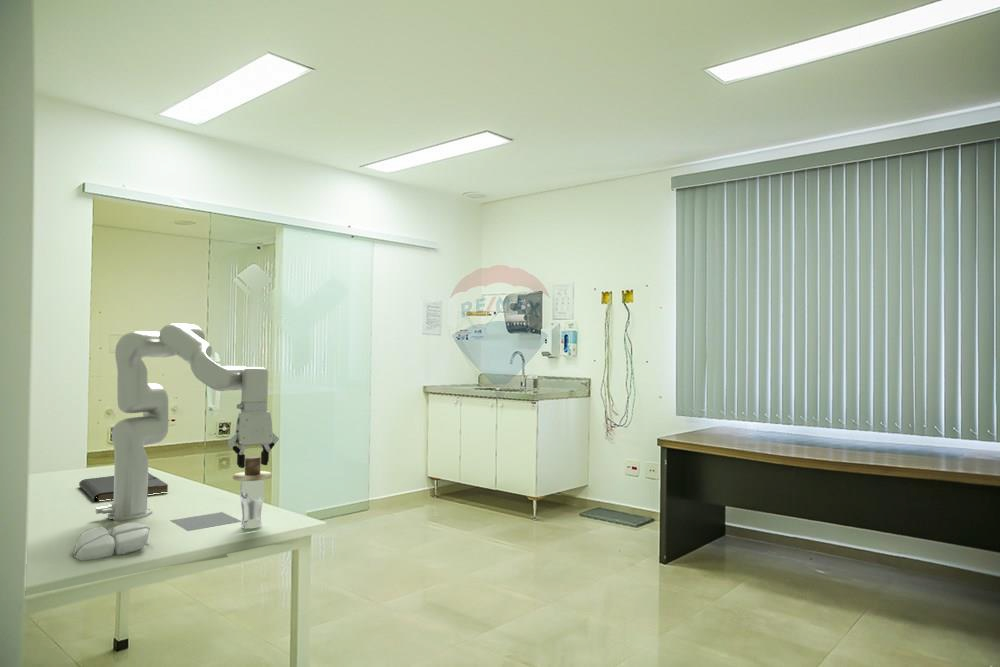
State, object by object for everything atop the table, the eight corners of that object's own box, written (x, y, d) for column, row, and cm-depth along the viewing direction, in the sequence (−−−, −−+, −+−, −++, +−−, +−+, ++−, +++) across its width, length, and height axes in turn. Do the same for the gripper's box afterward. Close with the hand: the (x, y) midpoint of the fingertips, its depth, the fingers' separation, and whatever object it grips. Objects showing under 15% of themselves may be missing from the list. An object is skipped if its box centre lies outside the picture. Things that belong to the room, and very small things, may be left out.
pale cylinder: (243, 524, 197) (244, 475, 198) (266, 524, 198) (267, 475, 199) (235, 530, 191) (237, 479, 191) (259, 530, 191) (261, 479, 192)
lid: (242, 482, 187) (242, 461, 187) (227, 477, 195) (227, 457, 195) (277, 477, 195) (278, 458, 195) (261, 473, 203) (262, 454, 203)
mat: (188, 532, 188) (188, 530, 188) (169, 521, 199) (169, 520, 199) (241, 522, 199) (241, 521, 199) (221, 513, 211) (221, 512, 211)
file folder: (169, 483, 240) (94, 493, 224) (169, 494, 240) (93, 505, 224) (148, 471, 265) (79, 479, 249) (147, 481, 265) (78, 489, 249)
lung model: (75, 564, 159) (66, 549, 179) (152, 552, 170) (136, 539, 189) (76, 536, 160) (67, 524, 179) (153, 526, 171) (136, 516, 190)
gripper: (230, 409, 187) (229, 471, 186) (286, 406, 199) (285, 464, 198) (220, 407, 192) (219, 467, 192) (275, 405, 204) (274, 461, 204)
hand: (252, 465), depth 195 cm, fingers open, 6 cm apart
